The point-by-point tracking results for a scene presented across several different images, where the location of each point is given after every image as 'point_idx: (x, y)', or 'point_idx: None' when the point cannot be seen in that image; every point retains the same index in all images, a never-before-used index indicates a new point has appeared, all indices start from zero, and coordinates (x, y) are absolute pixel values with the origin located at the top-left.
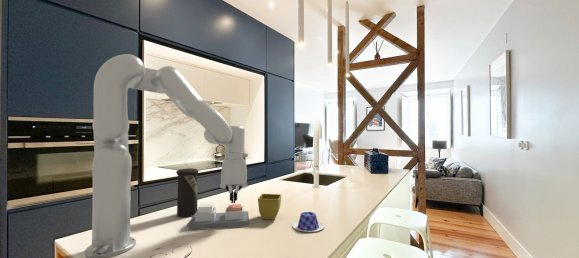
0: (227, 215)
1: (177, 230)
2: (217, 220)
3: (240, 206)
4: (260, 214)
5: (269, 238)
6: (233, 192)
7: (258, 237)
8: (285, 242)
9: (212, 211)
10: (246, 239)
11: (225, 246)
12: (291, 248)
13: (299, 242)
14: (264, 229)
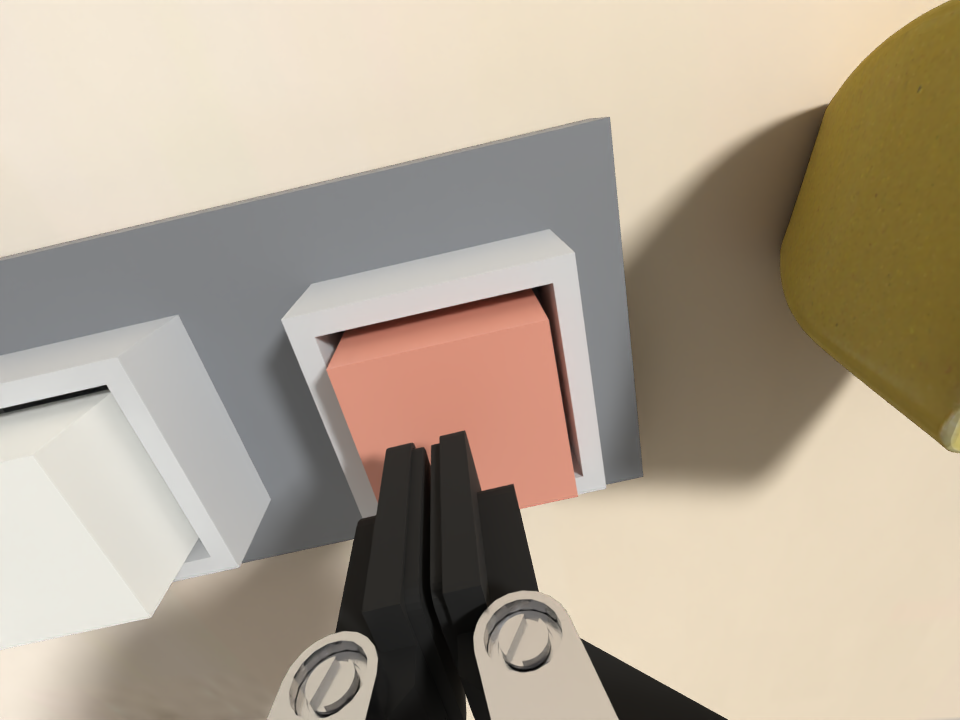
0: None
1: None
2: (301, 490)
3: (562, 451)
4: (788, 302)
5: (772, 621)
6: (433, 634)
7: (701, 615)
8: (858, 653)
9: (166, 495)
10: (621, 643)
11: None
12: (868, 700)
13: (939, 647)
14: (758, 499)
